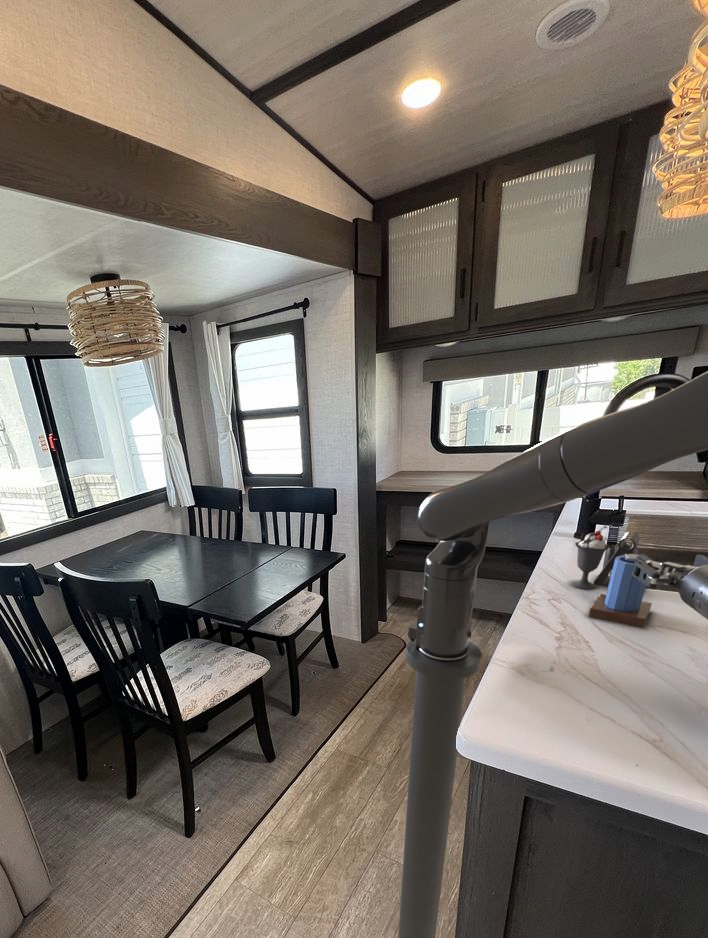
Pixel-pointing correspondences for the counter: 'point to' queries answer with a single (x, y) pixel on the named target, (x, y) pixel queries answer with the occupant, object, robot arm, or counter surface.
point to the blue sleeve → (624, 587)
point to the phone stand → (622, 548)
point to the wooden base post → (618, 616)
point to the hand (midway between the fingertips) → (667, 559)
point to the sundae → (589, 556)
